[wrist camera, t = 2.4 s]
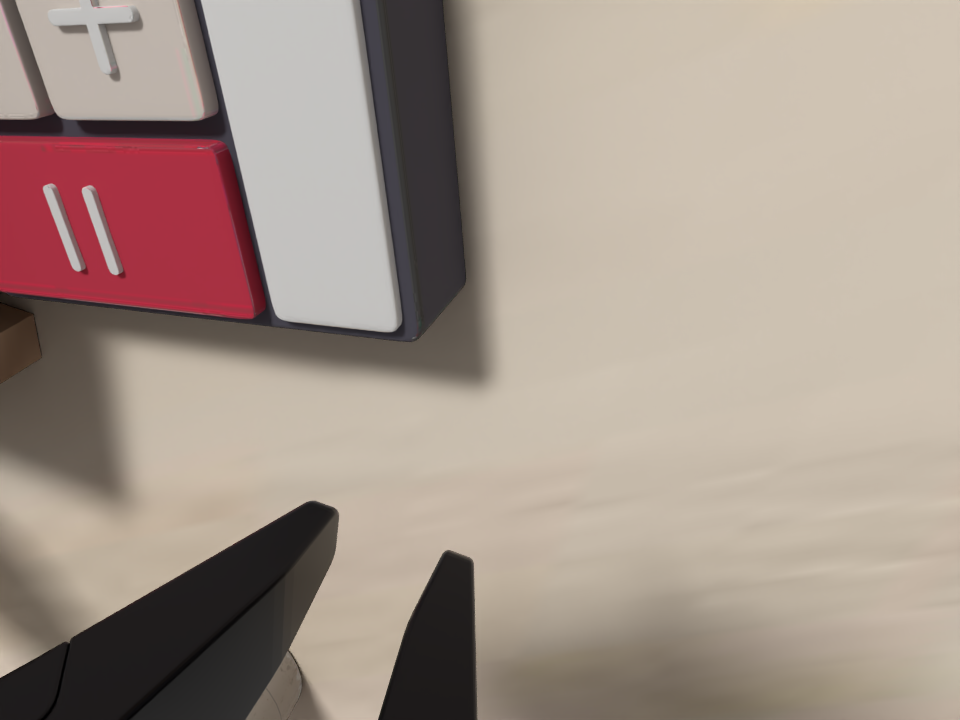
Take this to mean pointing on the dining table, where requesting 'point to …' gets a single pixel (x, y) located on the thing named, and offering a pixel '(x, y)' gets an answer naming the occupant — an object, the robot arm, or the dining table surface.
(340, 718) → the dining table surface
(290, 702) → the thermos bottle
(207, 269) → the calculator
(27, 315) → the overhang shelf
